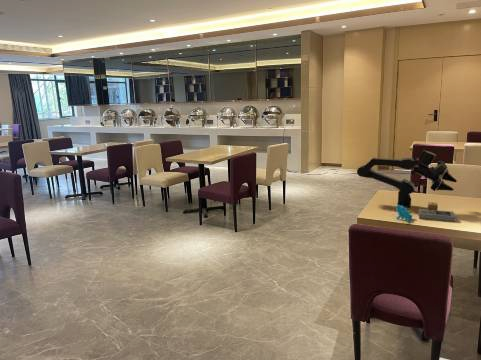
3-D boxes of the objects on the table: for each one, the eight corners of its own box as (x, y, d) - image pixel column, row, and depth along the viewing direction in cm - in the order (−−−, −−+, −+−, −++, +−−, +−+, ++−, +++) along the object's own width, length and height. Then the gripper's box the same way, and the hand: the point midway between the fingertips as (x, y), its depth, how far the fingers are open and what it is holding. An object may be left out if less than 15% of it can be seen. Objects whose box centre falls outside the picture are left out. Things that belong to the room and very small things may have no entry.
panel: (419, 218, 188) (419, 213, 188) (418, 213, 196) (418, 208, 196) (455, 221, 182) (455, 216, 182) (452, 216, 190) (453, 211, 190)
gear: (406, 221, 180) (394, 204, 184) (397, 227, 184) (386, 210, 188) (418, 219, 186) (406, 203, 191) (408, 225, 190) (398, 209, 195)
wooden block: (427, 212, 198) (428, 204, 197) (427, 209, 202) (427, 201, 201) (437, 212, 197) (437, 204, 196) (436, 210, 201) (437, 202, 200)
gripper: (429, 168, 190) (460, 182, 185) (437, 152, 203) (466, 166, 197) (419, 184, 198) (448, 198, 192) (427, 168, 210) (455, 181, 205)
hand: (454, 185), depth 196 cm, fingers open, 9 cm apart
